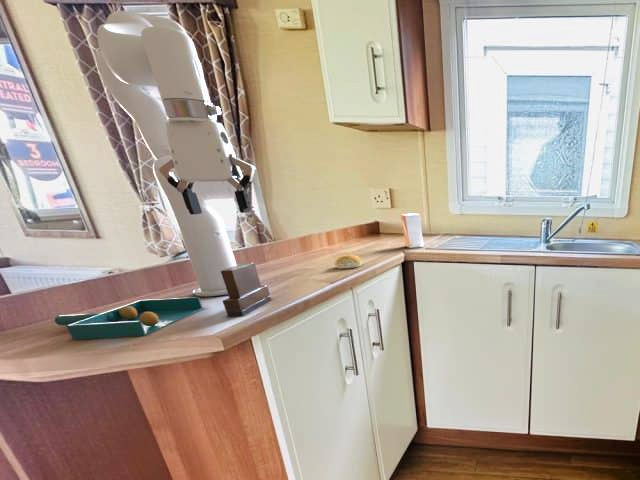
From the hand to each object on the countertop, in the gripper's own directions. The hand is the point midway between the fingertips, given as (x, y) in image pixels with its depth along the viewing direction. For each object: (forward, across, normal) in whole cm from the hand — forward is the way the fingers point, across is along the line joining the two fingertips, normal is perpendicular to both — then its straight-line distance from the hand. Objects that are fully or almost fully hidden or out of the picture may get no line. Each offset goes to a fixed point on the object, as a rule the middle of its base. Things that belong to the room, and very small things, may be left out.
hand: (221, 213), depth 86 cm
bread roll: (+20, -9, -50) cm, 54 cm away
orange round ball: (+17, +22, +6) cm, 28 cm away
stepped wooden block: (+20, 0, +1) cm, 20 cm away
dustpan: (+20, +22, +8) cm, 31 cm away
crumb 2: (+18, +14, +12) cm, 26 cm away
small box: (+20, -25, -96) cm, 101 cm away
